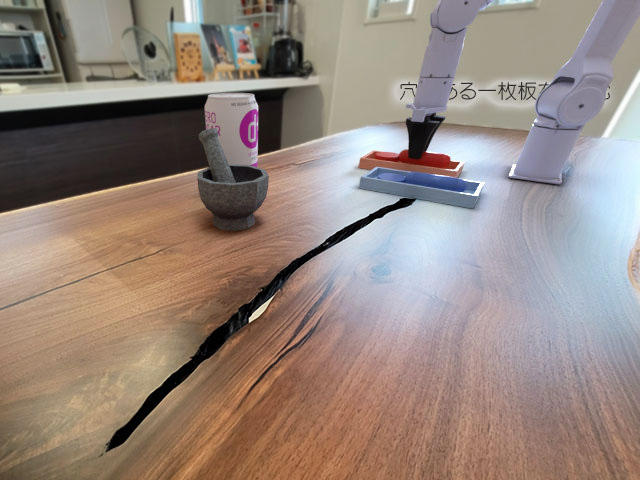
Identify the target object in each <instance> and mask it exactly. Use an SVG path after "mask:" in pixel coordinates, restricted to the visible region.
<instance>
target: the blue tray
mask: <svg viewBox="0 0 640 480" xmlns="http://www.w3.org/2000/svg"><path fill="white" fill-rule="evenodd" d="M384 173H393V174H399V175H403V176H405V177H406V175H407V174H408V173H410V172H409V171H402V170H395V169H389V168H382V167H375V168H374V169H372V170H368V171H367V172H366V173H365V174H363V175H361V176H360V178H359V184H358V189H361V190H365V191H366V190H367V191H372V192H378V193H383V194H388V195H394V196H399V197H406V198H412V199H417V200H423V201H428V202H433V203H440V204H445V205H450V206H455V207H456V206H457V207H460V208H461V207H462V208H466V209H474V208H475V205H476V204H477V202H478V200H479V198H480V197H481V194H482V192H483V189H484V187H485V182H483V181H476V180H472V179H471V180H470V179H464V180H465V181H466V184H467V187H466V189H465V191H464V192H463V193H462V192H456V191H450V190H444V189H438V188H431V187H425V186H419V185H413V184H407V183H401V182H394V181H388V180H382V179H377V178H378V175H380V174H384Z"/></svg>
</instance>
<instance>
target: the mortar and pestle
mask: <svg viewBox="0 0 640 480" xmlns="http://www.w3.org/2000/svg"><path fill="white" fill-rule="evenodd" d="M198 139H199V142H200V143H201V144H202V146H203V149H204V153H205V157H206V160H207V164H208V163H209V168H208V167H206V168H204V169H201V170H199V171H197V190H198V193H199V197H200V201H201V202H202V204H203V205H204V207H205V209H206V210H208V211H209V212H210V213H211V214H212V225H213V227H216V228H218V229H219V230H222V231H233V232H236V231H242V230H247V229H250V228H251V227H252V226H254V225H255V223H256V219H255V214H254V213H255V212H257V211H258V210H259V209H260V208H261V207H262V205H263V204H264V202H265V200H266V198H267V194H268V190H269V180H270V179H269V178H270V176H269V174H268V172H267V169H265V168H261V167H259V166H257V167H255V166H251V165H232V164H230V165H229V164H228V162H227V159H226V157H225V154H224V152H223V149H222V147H221V144H220V142H219V139H218V131H217V129H215V128H210V129H206V128H205V129H204V130H202V131H201V132H200V133H199V134H198Z"/></svg>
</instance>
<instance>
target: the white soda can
mask: <svg viewBox="0 0 640 480" xmlns="http://www.w3.org/2000/svg"><path fill="white" fill-rule="evenodd" d="M204 118H205V120H204V121H205V130H206V129H210V128H215V129H217V131H218V139H219V142H220V144H221V147H222V149H223V152H224V154H225V157H226V159H227V162H228V164H229V165H230V164H232V165H251V166H255V167H258V155H259V153H258V151H259V105H258V102H257V100H256V97H255V94H254V93H248V92H246V93H245V92H218V93H211V94H208V95H207V99H206V102H205V104H204ZM207 168H209V163H208V162H207Z"/></svg>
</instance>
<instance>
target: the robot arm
mask: <svg viewBox="0 0 640 480" xmlns="http://www.w3.org/2000/svg"><path fill="white" fill-rule="evenodd" d="M494 1H495V0H437V2H436V4H435V6H434V8H433V9H432V11H431V13H430V15H429V23H430V24H429V25H430V27H431V29H430V33H429V36H428V43H427V45H426V47H425V50H424V51H425V52H424V57H423V59H422V64H421V67H420V72H419V76H418V81H417V86H416V90H415V94H414V98H413V103H411V102H410V103H406V104H405V109H410V110H411V111H412V114H411V117H410V116H409V117H406V120H405V126H406V129H407V136H408V138H407V139H408V147H407V149H408V158H410V159H418V160H419V159H420V158H421V156H422V154H423V152H424V151H425V152H428V149H429V147H430V144H431V142H432V140H433V138H434V136H435V135H436V133H437V131H438V129H439V128H440V126H441V125H442V124H443V122H444V121H445V120H446V116H445V115H439V114H440V113H442V112H446V111H447V110H448V102H449V100H450V99H449V98H450V95H451V91H452V87H453V85H454V81H455V77H456V74H457V70H458V67H459V63H460V59H461V55H462V52H463V49H464V42H465V39H466V35H467V32H468V26H470V25H472V24H473V22H474V21H475V19H476V18H477V16H478V14H479V11H483V10H485V9H486V8H487V7H488V6H489V5H491V3H493V2H494ZM639 18H640V0H601V3H600V4H599V7H598V8H597V10H596V12H595V14H594V16H593V17H592V19H591V21H590V23H589V25H588V26H587V28H586V30H585V32H584V34H583V36H582V38H581V40H580V41H579V43H578V44H577V47H576V49H575V51H574V53H572V56H571V58H570V59H569V60H568V61H567V62H565V64H563V65H562V66H561V67H560V68H559V69H558V71H557V72H555V75H554V76H553V78H552V80H551V81H550V83H548V85H547V86H546V87H544V88H542V90H541V91H540V92H539V94H538V95H537V97H536V99H535V103H534V112H535V113H536V115H537V116H536V118H535V119H534V120H533V122H532V124H531V127H530V129H529V132H528V135H527V136H526V139H525V141H524V144H523V146H522V150H521V151H520V154H519V156H518V159H517V161H516V164H513V165H512V167H511V169H510V172H509V174H508V178H510V179H515V180H516V179H517V180H524V181H531V182H538V183H545V184H552V185H553V184H554V185H562V184H563V177H562V176H563V175H562V174H563V170H564V168H565V166H566V164H567V161H568V159H569V158H570V156H571V154H572V152H573V149H574V148H575V145H576V143H577V142H578V139H579V137H580V135H581V133H582V132H583V129H584V127H585V125H586V124H587V123H589V122H590V121H592V120H593V119H595V118H596V117H597V116H598V115H599V113H600V112H601V111H602V109H603V107H604V105H605V103H606V98H607V91H608V88H609V86H610V85H611V83H612V81H613V79H614V69H613V61H614V60H615V58H616V56H617V54H618V53H619V51H620V50H621V48H622V46H623V44H624V43H625V41H626V39H627V38H628V36H629V35H630V33H631V31H632V30H633V28H634V26H635V25H636V23H637V21H638V20H639ZM437 114H438V115H437Z"/></svg>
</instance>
